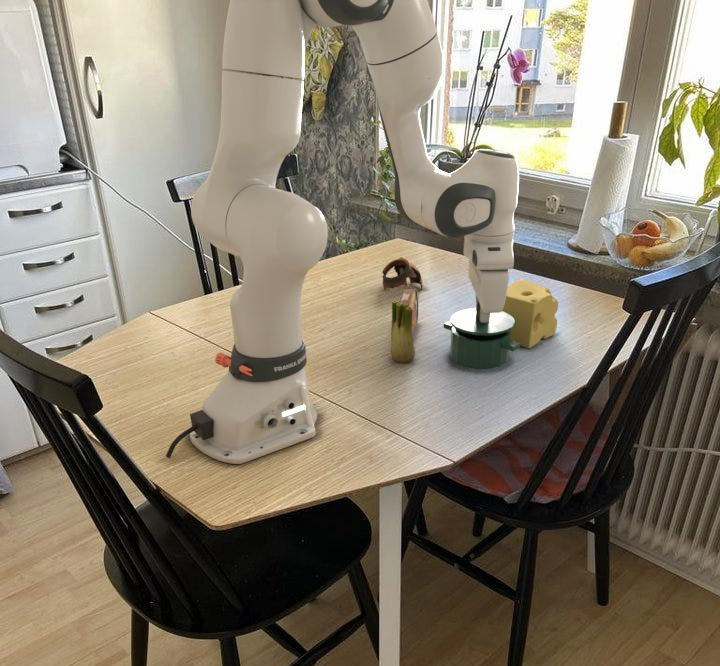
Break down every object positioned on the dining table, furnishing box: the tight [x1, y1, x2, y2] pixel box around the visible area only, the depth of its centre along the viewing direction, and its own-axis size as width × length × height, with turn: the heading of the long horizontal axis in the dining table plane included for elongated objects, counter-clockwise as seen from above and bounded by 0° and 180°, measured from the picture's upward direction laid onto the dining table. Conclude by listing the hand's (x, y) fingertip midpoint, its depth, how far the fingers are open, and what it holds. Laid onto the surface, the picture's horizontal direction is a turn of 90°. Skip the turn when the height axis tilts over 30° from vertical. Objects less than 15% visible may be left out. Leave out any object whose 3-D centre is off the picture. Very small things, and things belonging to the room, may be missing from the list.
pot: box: [443, 320, 521, 370], centre depth 142 cm, size 11×17×6 cm
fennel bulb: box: [390, 300, 416, 364], centre depth 140 cm, size 6×5×12 cm
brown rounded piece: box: [381, 257, 424, 291], centre depth 176 cm, size 12×10×8 cm
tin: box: [398, 288, 419, 334], centre depth 152 cm, size 15×3×8 cm, turn 168°
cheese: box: [502, 278, 559, 349], centre depth 150 cm, size 10×11×10 cm
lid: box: [449, 300, 515, 335], centre depth 138 cm, size 12×12×5 cm
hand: (482, 317), depth 139 cm, fingers closed on lid, 2 cm apart
